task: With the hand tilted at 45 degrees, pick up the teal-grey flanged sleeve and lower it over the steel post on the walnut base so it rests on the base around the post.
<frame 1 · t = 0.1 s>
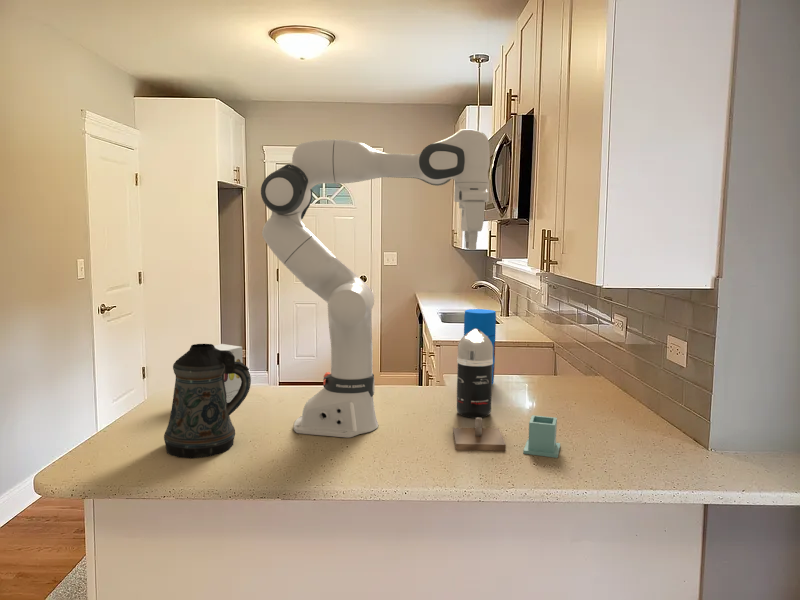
hand: (470, 249, 158), 48 cm above the countertop, fingers open, 8 cm apart
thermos: (478, 382, 212), on the countertop
beer stein: (206, 445, 150), on the countertop
flanged sleeve: (542, 449, 148), on the countertop
spray bottle: (473, 414, 177), on the countertop
walnut post base: (478, 441, 154), on the countertop
supplement box: (221, 402, 186), on the countertop
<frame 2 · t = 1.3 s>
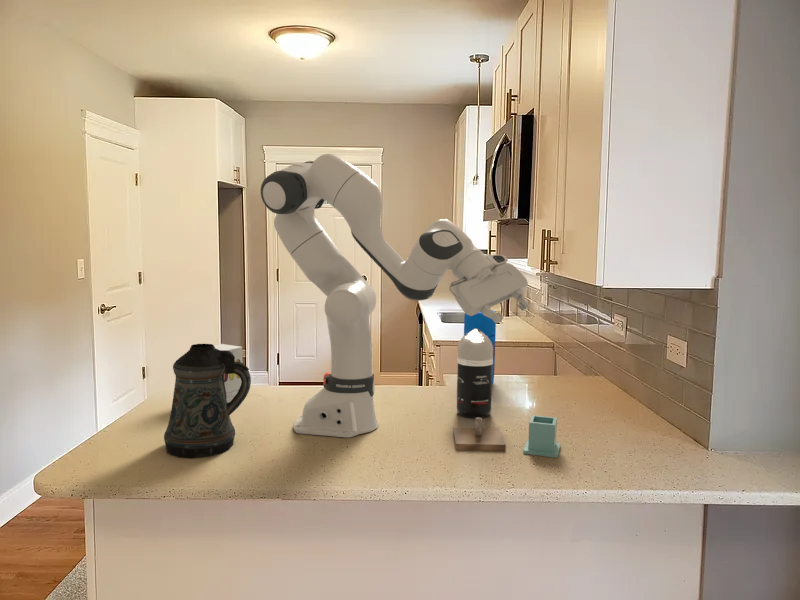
hand: (513, 314, 142), 34 cm above the countertop, fingers open, 8 cm apart
nothing on the countertop moved.
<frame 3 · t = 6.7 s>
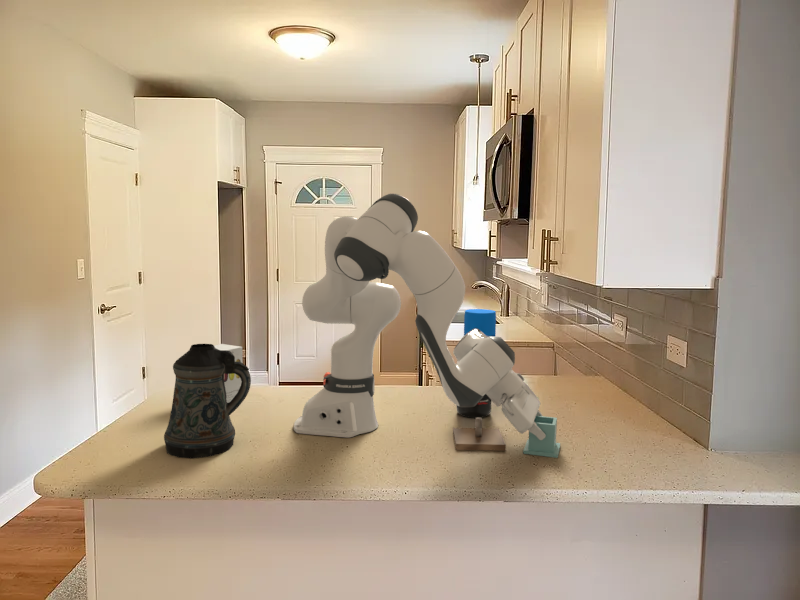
hand: (545, 432, 148), 4 cm above the countertop, fingers closed on flanged sleeve, 6 cm apart
flanged sleeve: (542, 449, 148), on the countertop, touching gripper
everything else where it was.
when the fingers open (7 cm above the countertop, at t = 14.2 s): flanged sleeve drops 1 cm, resting on walnut post base.
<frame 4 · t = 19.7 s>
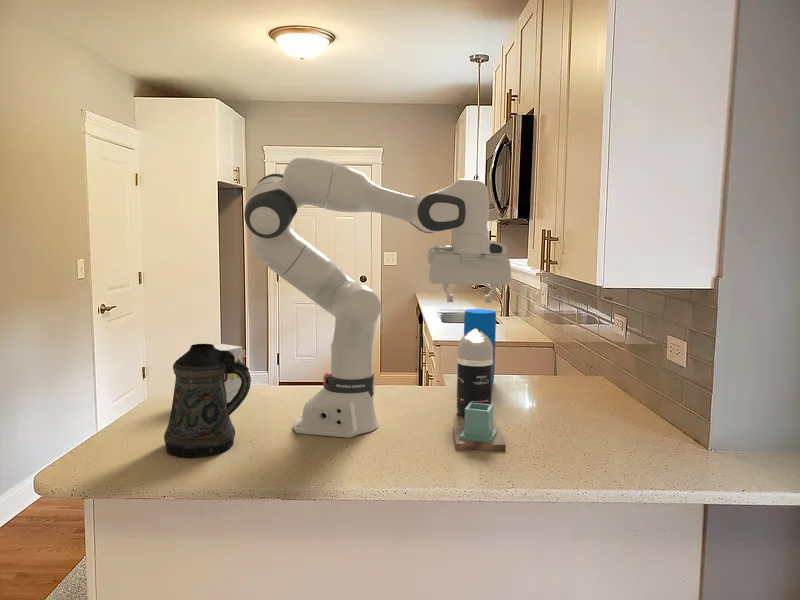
hand: (468, 302, 152), 35 cm above the countertop, fingers open, 8 cm apart
flanged sleeve: (478, 435, 154), point 1 cm above the countertop, touching walnut post base
everything else where it was.
at the end: flanged sleeve 0.0 cm off-centre on the walnut post base, point 1.5 cm above the walnut post base's base; flanged sleeve tilted 0°; the gripper is holding nothing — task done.
